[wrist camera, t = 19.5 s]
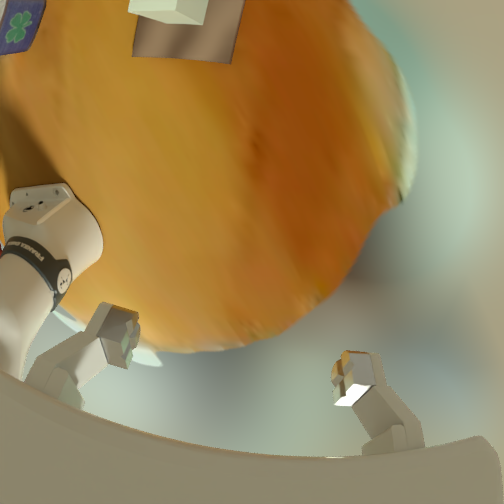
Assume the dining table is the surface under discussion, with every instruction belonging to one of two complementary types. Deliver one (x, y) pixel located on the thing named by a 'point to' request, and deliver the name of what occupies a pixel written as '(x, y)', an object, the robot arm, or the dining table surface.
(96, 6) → the dining table surface
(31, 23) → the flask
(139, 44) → the display stand
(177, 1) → the cabinet block
